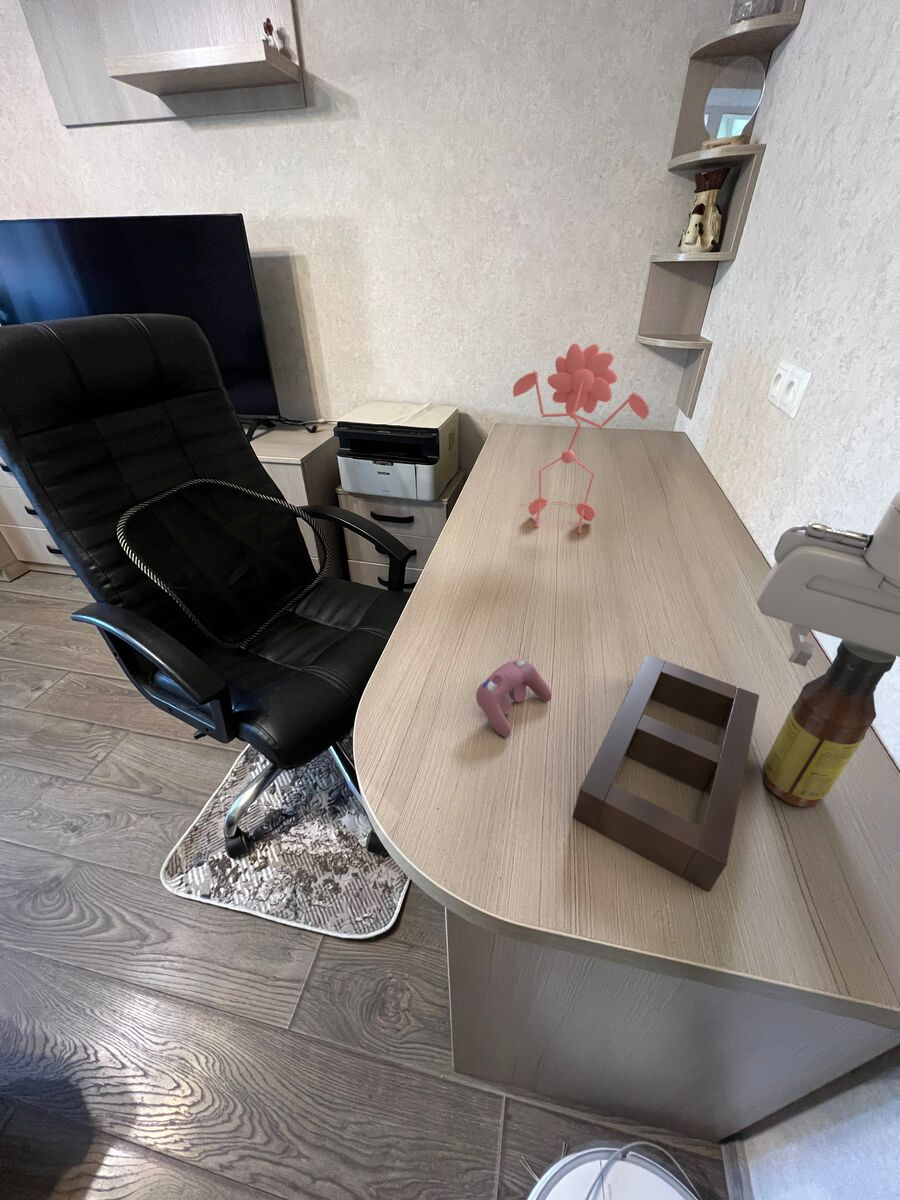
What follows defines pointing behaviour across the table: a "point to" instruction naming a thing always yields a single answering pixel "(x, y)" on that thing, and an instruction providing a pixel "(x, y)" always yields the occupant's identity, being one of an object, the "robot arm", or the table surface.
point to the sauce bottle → (826, 726)
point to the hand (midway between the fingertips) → (853, 679)
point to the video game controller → (509, 691)
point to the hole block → (673, 771)
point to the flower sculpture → (578, 403)
